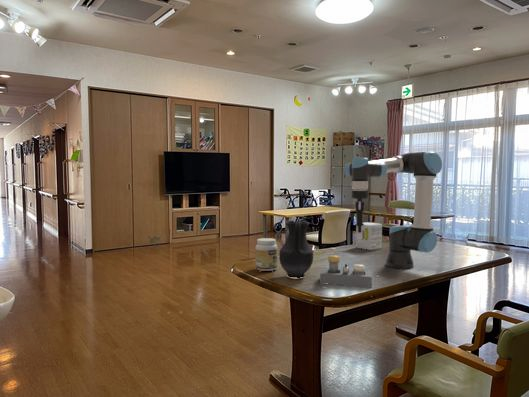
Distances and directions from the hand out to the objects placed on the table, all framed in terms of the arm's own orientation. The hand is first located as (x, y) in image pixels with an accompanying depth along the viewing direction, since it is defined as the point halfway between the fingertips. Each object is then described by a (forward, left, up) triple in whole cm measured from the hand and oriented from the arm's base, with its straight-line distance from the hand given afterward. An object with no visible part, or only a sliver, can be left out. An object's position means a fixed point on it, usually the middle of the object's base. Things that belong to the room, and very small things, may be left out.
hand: (359, 238), depth 190 cm
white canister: (-5, -95, -22) cm, 97 cm away
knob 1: (+12, 0, -17) cm, 21 cm away
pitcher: (+31, -2, -22) cm, 38 cm away
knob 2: (0, 0, -20) cm, 20 cm away
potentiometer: (+6, +3, -17) cm, 18 cm away
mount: (+6, 0, -22) cm, 22 cm away
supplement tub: (+50, -15, -22) cm, 57 cm away
